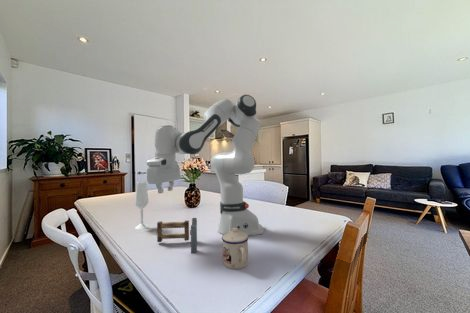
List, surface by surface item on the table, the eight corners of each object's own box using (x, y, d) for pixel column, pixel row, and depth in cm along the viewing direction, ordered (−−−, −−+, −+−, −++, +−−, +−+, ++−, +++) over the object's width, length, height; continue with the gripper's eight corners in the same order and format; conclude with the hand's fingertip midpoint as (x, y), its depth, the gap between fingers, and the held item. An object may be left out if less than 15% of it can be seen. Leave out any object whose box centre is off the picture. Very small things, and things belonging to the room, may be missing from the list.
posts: (199, 240, 86) (199, 217, 86) (196, 252, 75) (196, 226, 75) (192, 240, 86) (192, 217, 86) (188, 253, 74) (187, 226, 75)
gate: (189, 239, 86) (189, 220, 86) (188, 241, 83) (188, 222, 83) (158, 240, 85) (158, 221, 85) (156, 243, 82) (156, 223, 83)
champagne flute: (149, 227, 104) (149, 182, 104) (135, 230, 100) (135, 183, 100) (147, 224, 109) (147, 181, 110) (134, 226, 106) (133, 182, 106)
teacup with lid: (218, 259, 70) (218, 226, 70) (241, 253, 73) (241, 222, 73) (231, 277, 58) (230, 238, 59) (258, 270, 62) (257, 233, 62)
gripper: (172, 161, 100) (172, 188, 99) (143, 161, 80) (144, 195, 80) (183, 160, 98) (183, 188, 98) (157, 161, 78) (157, 196, 78)
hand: (165, 191), depth 88 cm, fingers open, 6 cm apart
